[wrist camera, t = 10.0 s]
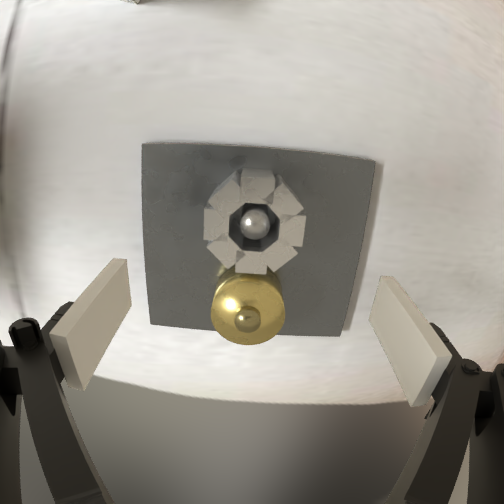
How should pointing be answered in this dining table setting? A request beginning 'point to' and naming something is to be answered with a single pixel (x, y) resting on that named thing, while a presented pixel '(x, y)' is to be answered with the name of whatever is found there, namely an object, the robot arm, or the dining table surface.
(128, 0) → the light bulb box
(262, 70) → the dining table surface
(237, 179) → the planet gear
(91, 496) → the robot arm
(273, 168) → the carrier
